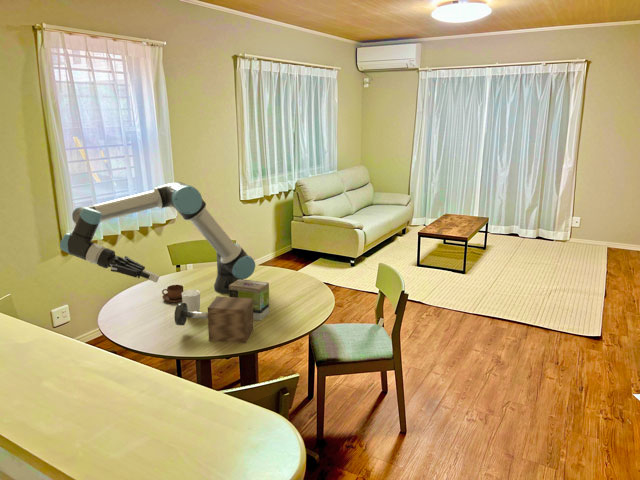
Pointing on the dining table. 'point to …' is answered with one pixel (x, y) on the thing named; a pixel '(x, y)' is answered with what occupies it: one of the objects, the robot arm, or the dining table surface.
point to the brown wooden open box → (230, 319)
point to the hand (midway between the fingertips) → (157, 279)
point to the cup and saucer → (173, 293)
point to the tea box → (252, 295)
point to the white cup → (192, 300)
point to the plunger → (186, 314)
